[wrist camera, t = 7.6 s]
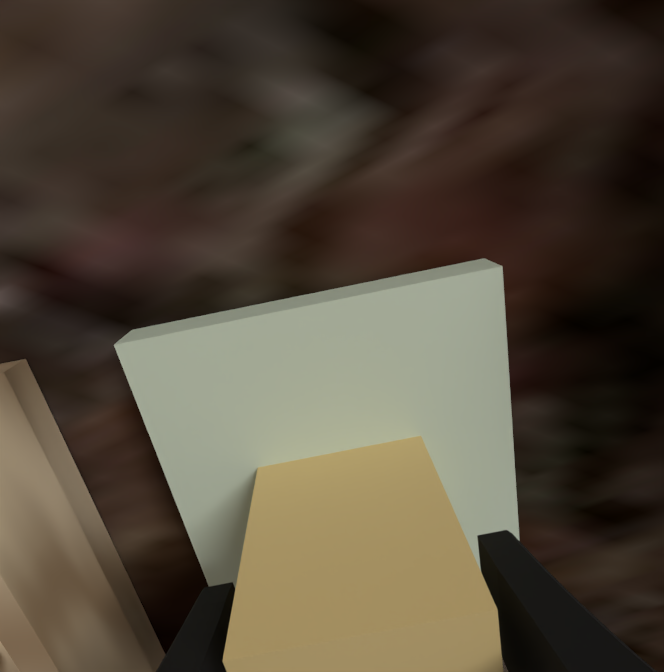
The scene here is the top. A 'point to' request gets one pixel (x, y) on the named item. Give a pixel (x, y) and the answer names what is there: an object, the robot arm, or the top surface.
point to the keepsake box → (58, 554)
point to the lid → (342, 467)
